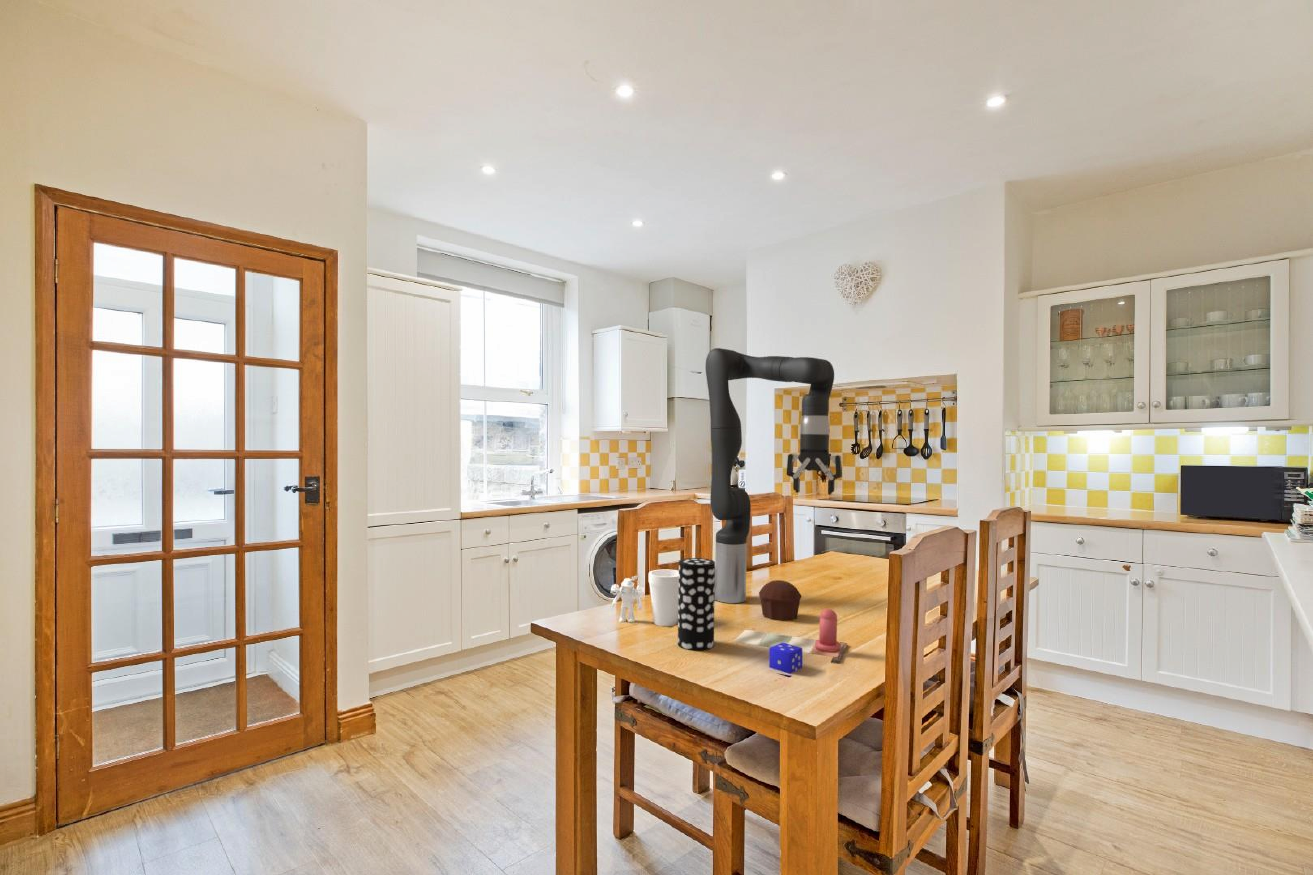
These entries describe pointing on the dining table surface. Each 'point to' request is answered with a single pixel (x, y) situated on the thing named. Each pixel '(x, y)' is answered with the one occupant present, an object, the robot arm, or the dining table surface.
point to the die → (785, 658)
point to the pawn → (828, 632)
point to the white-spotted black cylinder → (696, 604)
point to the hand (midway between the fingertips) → (813, 493)
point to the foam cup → (664, 596)
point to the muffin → (780, 600)
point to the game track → (776, 639)
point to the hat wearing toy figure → (627, 597)
